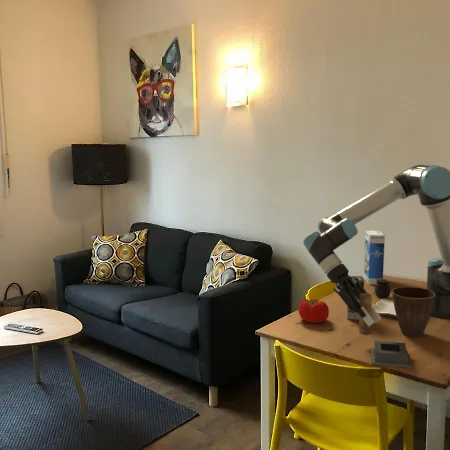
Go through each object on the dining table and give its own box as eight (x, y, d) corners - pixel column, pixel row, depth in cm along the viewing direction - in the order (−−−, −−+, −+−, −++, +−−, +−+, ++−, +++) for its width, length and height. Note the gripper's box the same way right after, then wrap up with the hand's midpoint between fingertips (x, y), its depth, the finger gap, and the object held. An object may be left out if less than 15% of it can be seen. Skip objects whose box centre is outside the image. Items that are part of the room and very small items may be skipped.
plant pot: (411, 343, 176) (412, 300, 173) (382, 330, 189) (383, 289, 187) (442, 336, 182) (444, 294, 179) (412, 323, 195) (413, 284, 193)
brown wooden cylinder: (370, 331, 176) (371, 293, 174) (371, 335, 173) (371, 296, 170) (359, 330, 178) (359, 292, 175) (359, 334, 174) (359, 296, 172)
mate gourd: (392, 299, 227) (393, 277, 226) (376, 299, 227) (376, 278, 226) (387, 294, 234) (388, 273, 233) (371, 294, 234) (372, 274, 233)
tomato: (335, 320, 201) (335, 300, 200) (317, 328, 192) (317, 307, 191) (309, 313, 210) (310, 293, 209) (291, 320, 201) (291, 300, 200)
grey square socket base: (407, 352, 168) (408, 342, 168) (410, 368, 157) (411, 356, 156) (370, 349, 171) (371, 339, 171) (371, 364, 160) (371, 353, 159)
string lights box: (363, 278, 264) (365, 230, 260) (378, 278, 263) (379, 230, 259) (368, 284, 251) (369, 234, 247) (383, 285, 250) (385, 234, 246)
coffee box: (363, 320, 200) (364, 281, 198) (346, 319, 202) (347, 281, 199) (361, 312, 209) (362, 275, 207) (346, 312, 210) (346, 275, 208)
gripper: (340, 270, 189) (380, 321, 180) (314, 279, 177) (355, 334, 168) (353, 258, 184) (394, 310, 175) (327, 267, 173) (369, 323, 163)
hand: (375, 322), depth 172 cm, fingers closed on brown wooden cylinder, 4 cm apart
